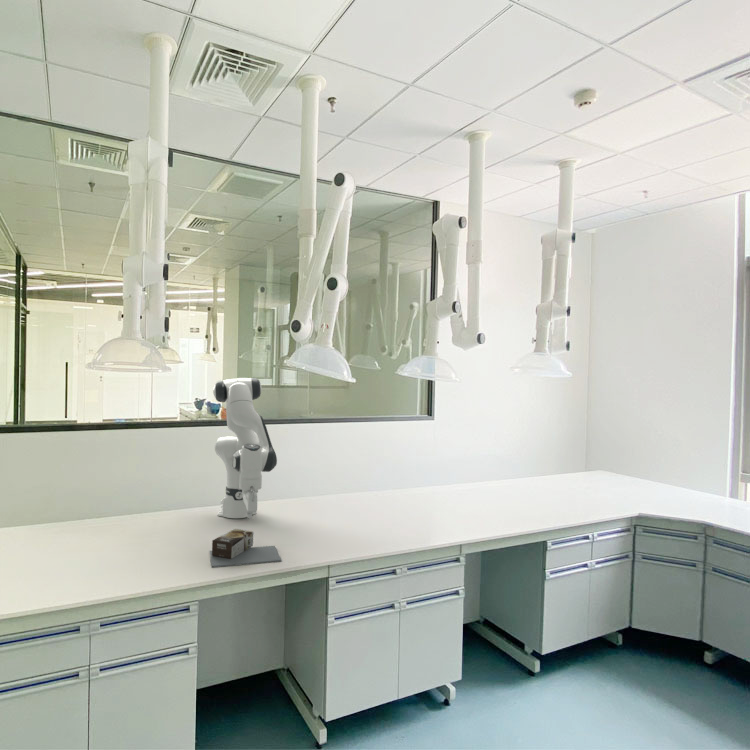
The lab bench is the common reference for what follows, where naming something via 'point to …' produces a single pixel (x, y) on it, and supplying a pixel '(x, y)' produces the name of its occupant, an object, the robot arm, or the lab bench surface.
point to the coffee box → (232, 543)
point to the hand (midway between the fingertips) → (249, 517)
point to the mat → (248, 557)
